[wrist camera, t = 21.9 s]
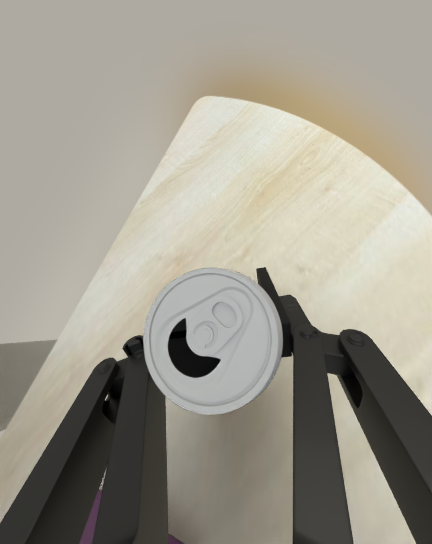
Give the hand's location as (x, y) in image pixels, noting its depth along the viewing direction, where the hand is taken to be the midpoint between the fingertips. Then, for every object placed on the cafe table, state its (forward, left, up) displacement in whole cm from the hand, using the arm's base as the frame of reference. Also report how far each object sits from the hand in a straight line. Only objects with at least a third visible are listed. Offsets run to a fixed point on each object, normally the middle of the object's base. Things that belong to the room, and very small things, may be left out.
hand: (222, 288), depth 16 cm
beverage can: (0, -4, -4) cm, 5 cm away
